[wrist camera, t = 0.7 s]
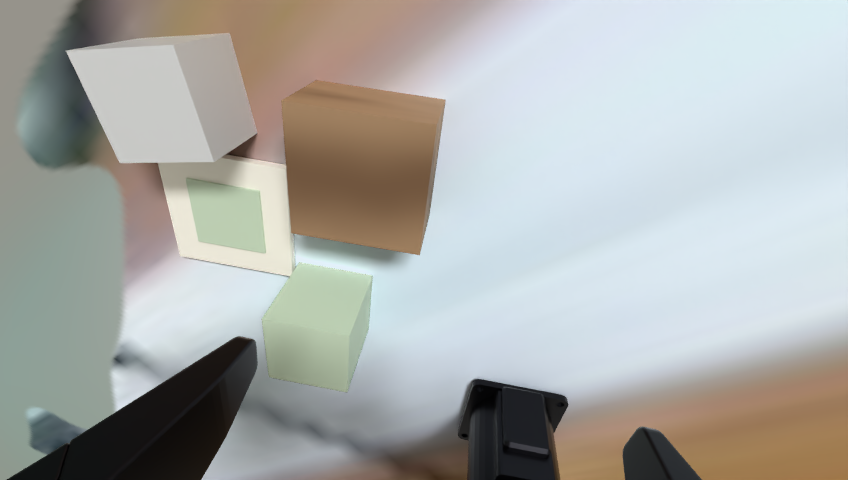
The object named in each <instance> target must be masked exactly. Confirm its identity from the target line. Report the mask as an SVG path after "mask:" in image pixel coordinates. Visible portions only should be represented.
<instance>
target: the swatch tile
mask: <svg viewBox="0 0 848 480" xmlns="http://www.w3.org/2000/svg"><path fill="white" fill-rule="evenodd" d="M158 166H159V170H160V174H161V178H162V182H163V187H164V191H165V195H166V199H167V203H168V207H169V211H170V215H171V219H172V224H173V228H174V232H175V236H176V240H177V244H178V248H179V252H180V256H183V257H188V258H193V259H199V260H204V261H210V262H215V263H220V264H226V265H231V266H237V267H242V268H247V269H253V270H258V271H264V272H269V273H275V274H280V275H285V276H291V274H292V273H293V271H294V270H295V251H294V234H293V233H291V224H290V210H289V197H288V183H287V170H286V165H284V164H278V163H272V162H267V161H261V160H255V159H250V158H244V157H238V156H232V155H227V154H225V155H224V156H223V157H221V158H220V159H218V160H217V161H215V162H170V163H158Z"/></svg>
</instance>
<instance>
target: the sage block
mask: <svg viewBox="0 0 848 480" xmlns="http://www.w3.org/2000/svg"><path fill="white" fill-rule="evenodd" d="M372 277H373V276H371V275H366V274H361V273H355V272H350V271H344V270H339V269H333V268H328V267H322V266H317V265H311V264H306V263H301V262H299V264H298V265H297V267H296V268H295V270H294V271H293V273H292V274H291V276H290V277H289V279H288V280H287V282H286V283H285V285H284V286H283V288H282V289H281V291H280V292H279V294H278V295H277V297H276V298H275V300H274V301H273V303H272V304H271V306H270V307H269V309H268V310H267V312H266V313H265V315H264V316H263V318H262V325H263V334H264V342H265V350H266V358H267V367H268V375H269V377H270V378H275V379H280V380H286V381H291V382H296V383H301V384H306V385H311V386H316V387H321V388H327V389H332V390H337V391H342V392H348V389H349V386H350V383H351V380H352V377H353V374H354V371H355V368H356V365H357V362H358V359H359V356H360V353H361V350H362V347H363V344H364V341H365V338H366V335H367V332H368V329H369V317H370V304H371V291H372Z"/></svg>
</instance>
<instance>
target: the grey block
mask: <svg viewBox="0 0 848 480" xmlns="http://www.w3.org/2000/svg"><path fill="white" fill-rule="evenodd" d="M66 52H67V54H68V56H69V58H70V60H71V62H72V64H73V66H74V69H75V71H76V73H77V75H78V77H79V79H80V81H81V83H82V85H83V87H84V89H85V91H86V94H87V96H88V98H89V100H90V102H91V104H92V106H93V108H94V110H95V112H96V114H97V116H98V119H99V121H100V123H101V125H102V127H103V129H104V131H105V133H106V135H107V137H108V139H109V141H110V144H111V146H112V148H113V150H114V152H115V154H116V156H117V158H118V160H119V162H120V163H170V162H215V161H217V160H218V159H220V158H221V157H223V156H224V155H225V154H227V153H228V152H230V151H231V150H233V149H234V148H236V147H237V146H239V145H240V144H242V143H243V142H245V141H246V140H248V139H249V138H251V137H252V136H254V135H255V134H257V130H256V126H255V122H254V119H253V115H252V112H251V108H250V104H249V101H248V97H247V94H246V90H245V86H244V83H243V79H242V76H241V72H240V69H239V65H238V61H237V58H236V54H235V51H234V47H233V43H232V40H231V36H230V33H223V34H205V35H188V36H171V37H154V38H138V39H132V40H126V41H121V42H115V43H109V44H103V45H97V46H91V47H85V48H79V49H73V50H67V51H66Z"/></svg>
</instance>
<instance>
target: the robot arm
mask: <svg viewBox="0 0 848 480" xmlns="http://www.w3.org/2000/svg"><path fill="white" fill-rule="evenodd" d="M256 369H257V349H256V342H255V340H253V339H250V338H246V337H241V336H238V337H235V338H233V339H232V340H230V341H228V342H227V343H225V344H224V345H222V346H220V347H219V348H217V349H216V350H214V351H212V352H211V353H209V354H208V355H206V356H204V357H203V358H201V359H200V360H198V361H197V362H195V363H193V364H192V365H190V366H189V367H187V368H185V369H184V370H182V371H181V372H179V373H177V374H176V375H174V376H173V377H171V378H169V379H168V380H166V381H165V382H163V383H161V384H160V385H158V386H157V387H155V388H154V389H152V390H150V391H149V392H147V393H146V394H144V395H142V396H141V397H139V398H138V399H136V400H134V401H133V402H131V403H130V404H128V405H126V406H125V407H123V408H122V409H120V410H118V411H117V412H115V413H114V414H112V415H111V416H109V417H107V418H106V419H104V420H103V421H101V422H99V423H98V424H96V425H95V426H93V427H91V428H90V429H88V430H87V431H85V432H83V433H82V434H80V435H79V436H77V437H75V438H74V439H72V440H71V442H70V444H69V443H66V444H64V445H62V446H61V447H59V448H58V449H56V450H54V451H53V452H51V453H50V454H48V455H47V456H45V457H43V458H42V459H40V460H38V461H37V462H35V463H33V464H32V465H30V466H28V467H27V468H25V469H23V470H22V471H20V472H19V473H17V474H15V475H14V476H12V477H10V478H9V479H7V480H201V479H202V477H203V475H204V474H205V472H206V470H207V469H208V467H209V465H210V464H211V462H212V460H213V458H214V457H215V455H216V453H217V452H218V450H219V448H220V446H221V445H222V443H223V441H224V439H225V437H226V436H227V434H228V432H229V429H230V427H231V425H232V423H233V421H234V419H235V416H236V414H237V412H238V410H239V408H240V405H241V403H242V401H243V399H244V397H245V394H246V392H247V390H248V388H249V386H250V383H251V381H252V379H253V377H254V374H255V372H256ZM567 407H568V401H567V398H566V397H565V396H563V395H558V394H553V393H548V392H543V391H537V390H532V389H527V388H522V387H516V386H511V385H506V384H501V383H495V382H490V381H485V380H475V381H473V383H472V386H471V389H470V392H469V396H468V399H467V402H466V406H465V409H464V412H463V416H462V419H461V422H460V426H459V429H458V436H459V437H460V438H461V439H465V440H469V447H468V473H467V480H560V474H559V467H558V461H557V454H556V447H555V441H554V434H553V433H554V432H555V430H556V428H557V426H558V424H559V422H560V420H561V418H562V416H563V414H564V413H565V411H566V409H567ZM623 464H624V473H625V480H702V479H701V478H700V477H699V476H698V475H697V473H696V472H695V471H694V470H693V469H692V468H691V466H690V465H689V464H688V463H687V462H686V461H685V459H684V458H683V457H682V456H681V455H680V454H679V452H678V451H677V450H676V449H675V448H674V446H673V445H672V444H671V443H670V442H669V441H668V439H667V438H666V437H665V436H664V435H663V434H662V433H661V432H660V431H658V430H656V429H651V428H647V427H639V428H638V429H637V430H636V431H635V432H634V434H633V435H632V436H631V438H630V439H629V440H628V442H627V443H626V445H625V446H624V449H623Z"/></svg>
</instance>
